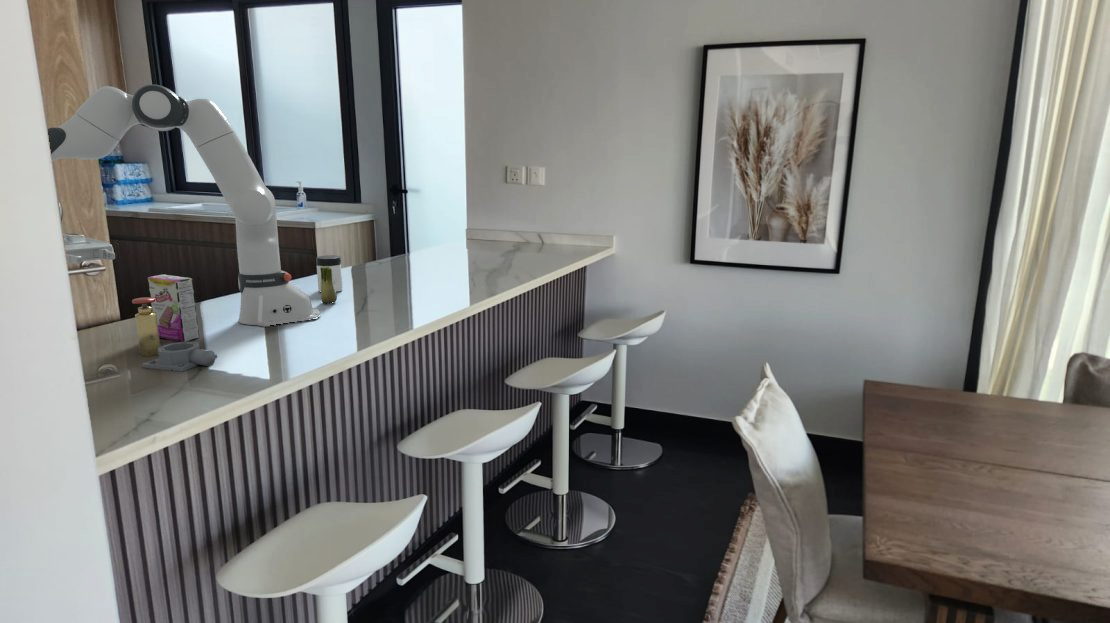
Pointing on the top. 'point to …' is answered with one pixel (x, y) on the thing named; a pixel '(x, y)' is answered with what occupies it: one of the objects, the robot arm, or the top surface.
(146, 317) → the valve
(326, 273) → the fennel bulb
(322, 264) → the jar
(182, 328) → the candy bar box
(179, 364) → the fitting
